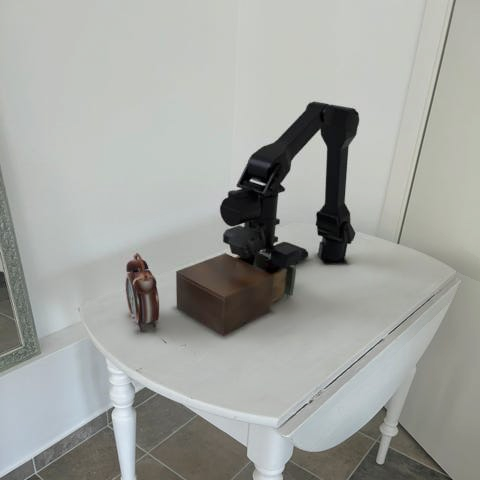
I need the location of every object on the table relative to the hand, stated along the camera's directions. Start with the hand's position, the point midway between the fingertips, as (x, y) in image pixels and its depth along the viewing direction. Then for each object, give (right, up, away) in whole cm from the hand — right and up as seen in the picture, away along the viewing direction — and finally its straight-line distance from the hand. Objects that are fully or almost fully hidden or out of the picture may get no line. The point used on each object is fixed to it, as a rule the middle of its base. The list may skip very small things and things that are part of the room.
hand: (258, 279), depth 110 cm
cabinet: (-8, -7, -5) cm, 12 cm away
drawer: (-1, -3, +1) cm, 3 cm away
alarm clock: (-24, -10, -11) cm, 28 cm away
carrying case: (+6, +7, +19) cm, 21 cm away
